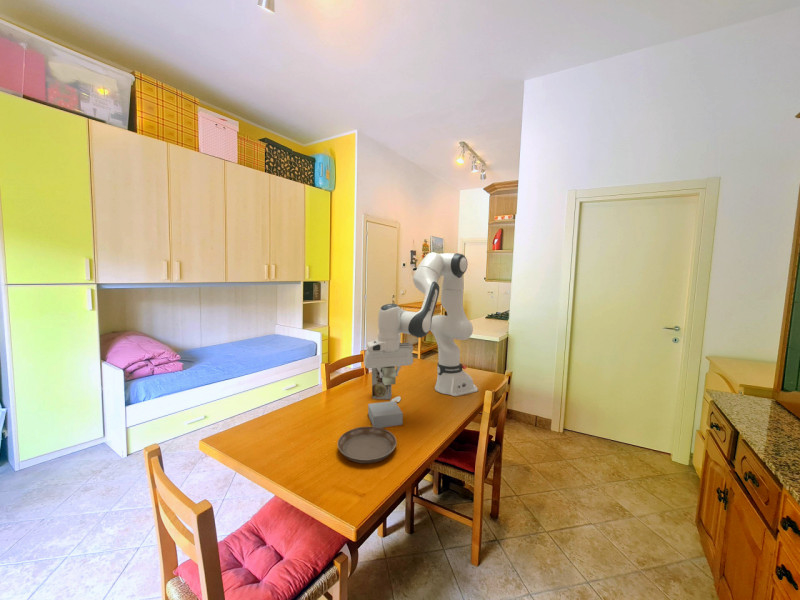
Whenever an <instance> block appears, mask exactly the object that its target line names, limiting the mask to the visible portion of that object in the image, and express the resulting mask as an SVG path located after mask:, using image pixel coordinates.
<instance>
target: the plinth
mask: <svg viewBox="0 0 800 600" xmlns="http://www.w3.org/2000/svg"><path fill="white" fill-rule="evenodd" d="M397 403H398V402H397V401H396V400H395V401H391V400H390V401H382V402H373V403H368V404H367V405H368V407H367V409H368V411H367V413H368V414H367V415H368V418H369V420H370V423H371V426H372V427H378V428H382V429H384V428H389V427H395V426H403V421H404V420H403V414H404V413H403V412H402V410H401V407H399V405H398V404H397Z"/></svg>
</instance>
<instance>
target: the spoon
mask: <svg viewBox="0 0 800 600" xmlns="http://www.w3.org/2000/svg"><path fill="white" fill-rule="evenodd" d="M401 399H402V398H401V396H399V395H398V396H395V397H394V398H392V399H390V401H395V402H396V403H400V402H401Z"/></svg>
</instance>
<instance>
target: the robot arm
mask: <svg viewBox="0 0 800 600" xmlns="http://www.w3.org/2000/svg"><path fill="white" fill-rule="evenodd" d="M468 265H469V264H468V259H467V257H466V256H465V254H463V253H459V252H458V253H457V252H456V253H452V252H444V253H443V252H442V253H438V252H434V251H433V252H429V253H427V254H426V255H425V256H424V257H423V258H422V260H421V261H420V263H419V265H418V266H417V268H416V270H415V272H414V273H413V277H412V281H413V285H414V286H415V288H416V289H417V290H418V291H419V292H421V293H422V294H424V298H423V302H422V305H421V307H420V310H419V311H410V310H405V309H403V308H401V307H399V305H398V304H397V303H386V304H384V305H382V306H381V307H380V308H379V311H378V320H377V321H378V322H377V326H378V335H377V339H374V340H371V341H369V342H367V343H366V348H367V349H366V350H365V351H364V359H363V365H364V367H365V368H366V369H368V370H369V369H372V368H377V370H378V371H379V373H380V378H384V373H383V372H381V371H380V370H381V367H393V366H395V367H396V377H398V376H399V372H400V370H401V367H402V366H412V365H413V363H414V356H413V352H414V345H413V344H412V343H410V342H401V335H400V333H401V334H404V335H411V336H412V337H416V338H418V339H420V338H423V337H425V336H427V335H428V334H429V333H430V332H431V333H432V335H433V336H434V338H435V341H436V343H437V350H438V351H437V352H438V361H437V368H436V369H437V371H436V374H437V376H436V377H437V378H436V382H435V386H434V390H435V391H436V392H438V393H439V394H443V395H450V396H453V397H459V396H463V395H468V394H473V393H475V392H478V390H479V389H478V387H477V386H476V384H474V380H473V377H472V376H470V374H468V373H467V372H466V371H464V370H467V365H465V364H463V363H461V359H460V358H461V349H460V347H459V346H458V345H457V343H456V342H455V340H456V341H457V340H458V341H459V340H460V341H461V340H468V339H470V337H472V334H473V332H474V327H473V324H472V322H471V321H470V320H469V319H468V317H467V315H466V313H465V309H464V288H465V287H464V283H465V282H464V281H465V280H464V274H465V273H466V271H467V269H468ZM441 276H442V277H443V278H442V284H441V296H440V297H441V298H440V304H441V306H442V307H443V309H445V311H446V315H444V314H436V315H435V309H436V306H437V302H438V300H439V299H438V298H439V295H440V286H439V284H438V283H439V280H440V278H441ZM400 342H401V343H400Z"/></svg>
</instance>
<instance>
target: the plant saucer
mask: <svg viewBox="0 0 800 600" xmlns="http://www.w3.org/2000/svg"><path fill="white" fill-rule="evenodd" d="M396 446H397V439H396V436H395V435H394V434H393V433H392V432H391V431H389V430H386V429H384V428H378V427H373V426H360V427H356V428H353V429H350V430H348V431H346V432H345V433H343V434H342V435H341V436H339V438H338V441H337V448H338V450H339V451H340V453H341V454H342V455H343V456H344V457H345V458H346V459H348V460H350V461H352V462H355V463H357V464H358V463H359V464H373V463H377V462H380V461H383V460H384V459H386V458H387V457H389V456H390V455H391V454H392V453H393V451H394V450H395V448H396Z"/></svg>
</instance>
